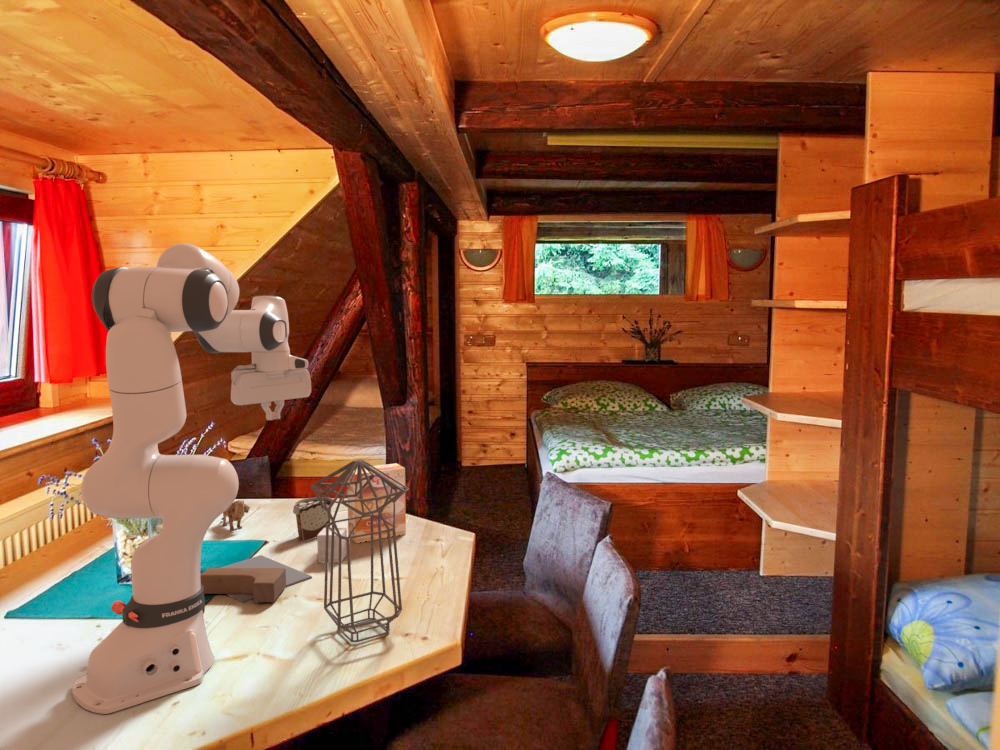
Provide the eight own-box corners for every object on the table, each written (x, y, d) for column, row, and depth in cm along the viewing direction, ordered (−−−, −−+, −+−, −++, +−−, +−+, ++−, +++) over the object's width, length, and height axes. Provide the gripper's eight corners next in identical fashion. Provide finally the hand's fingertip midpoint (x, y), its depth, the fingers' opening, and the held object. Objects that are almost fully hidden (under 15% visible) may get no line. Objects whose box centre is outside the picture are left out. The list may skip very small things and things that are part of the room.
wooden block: (273, 583, 154) (190, 583, 154) (274, 602, 154) (191, 603, 154) (286, 567, 163) (207, 567, 163) (286, 586, 163) (208, 586, 163)
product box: (347, 554, 184) (347, 527, 184) (341, 563, 178) (340, 535, 178) (324, 554, 185) (324, 527, 184) (317, 563, 179) (316, 534, 178)
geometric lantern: (414, 637, 139) (412, 462, 136) (337, 658, 131) (332, 473, 127) (383, 608, 153) (380, 448, 149) (311, 625, 144) (306, 457, 140)
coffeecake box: (355, 544, 193) (354, 473, 190) (347, 536, 199) (345, 468, 197) (406, 534, 200) (405, 467, 198) (397, 527, 206) (396, 462, 204)
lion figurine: (253, 530, 204) (251, 499, 203) (235, 534, 201) (234, 503, 200) (229, 519, 215) (228, 490, 214) (212, 523, 211) (211, 493, 210)
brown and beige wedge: (319, 527, 206) (318, 494, 205) (333, 531, 203) (332, 497, 202) (284, 539, 197) (283, 504, 195) (298, 543, 193) (297, 507, 192)
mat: (242, 602, 155) (242, 600, 155) (193, 577, 169) (193, 575, 169) (311, 577, 169) (311, 576, 169) (261, 556, 183) (261, 555, 183)
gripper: (238, 366, 161) (241, 426, 162) (314, 360, 177) (315, 415, 178) (224, 365, 165) (226, 423, 166) (299, 359, 181) (301, 412, 182)
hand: (273, 419), depth 172 cm, fingers closed
